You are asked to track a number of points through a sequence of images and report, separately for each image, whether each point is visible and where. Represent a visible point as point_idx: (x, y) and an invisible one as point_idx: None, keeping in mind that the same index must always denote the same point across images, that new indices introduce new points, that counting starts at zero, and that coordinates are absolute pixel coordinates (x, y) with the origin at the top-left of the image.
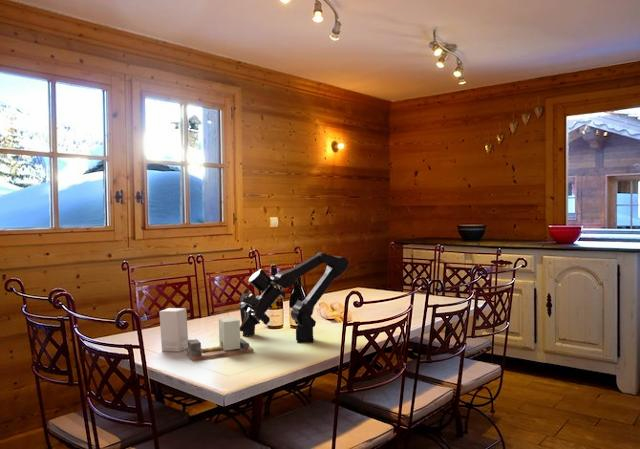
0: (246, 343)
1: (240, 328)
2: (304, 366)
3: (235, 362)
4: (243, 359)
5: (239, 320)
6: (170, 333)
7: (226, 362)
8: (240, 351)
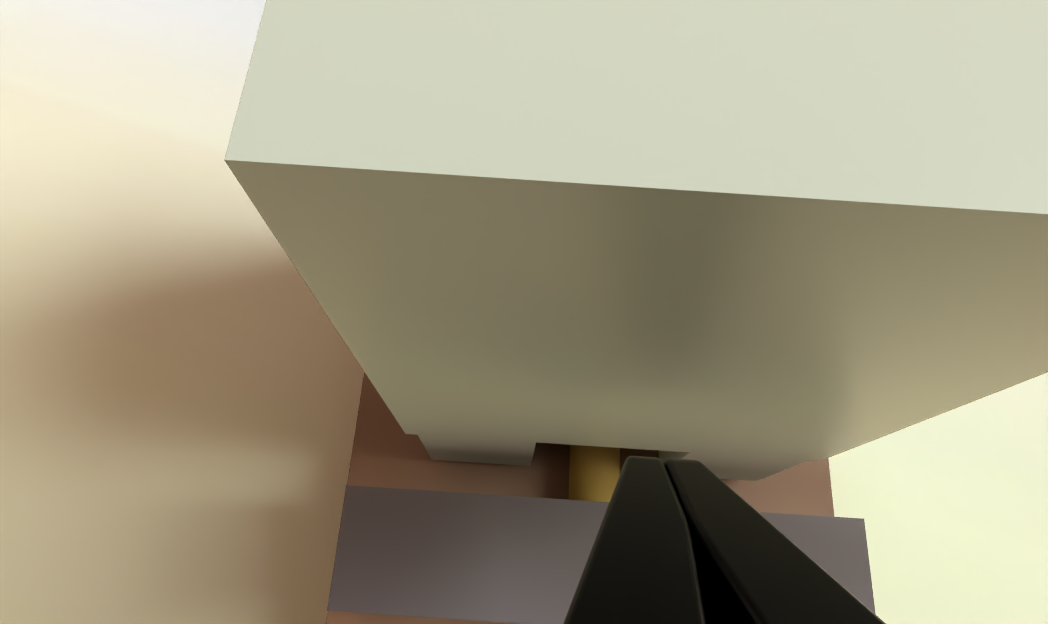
0: (342, 563)
1: (621, 477)
2: None
3: (29, 235)
4: (67, 375)
5: (233, 154)
6: None
7: (122, 148)
8: (358, 437)
